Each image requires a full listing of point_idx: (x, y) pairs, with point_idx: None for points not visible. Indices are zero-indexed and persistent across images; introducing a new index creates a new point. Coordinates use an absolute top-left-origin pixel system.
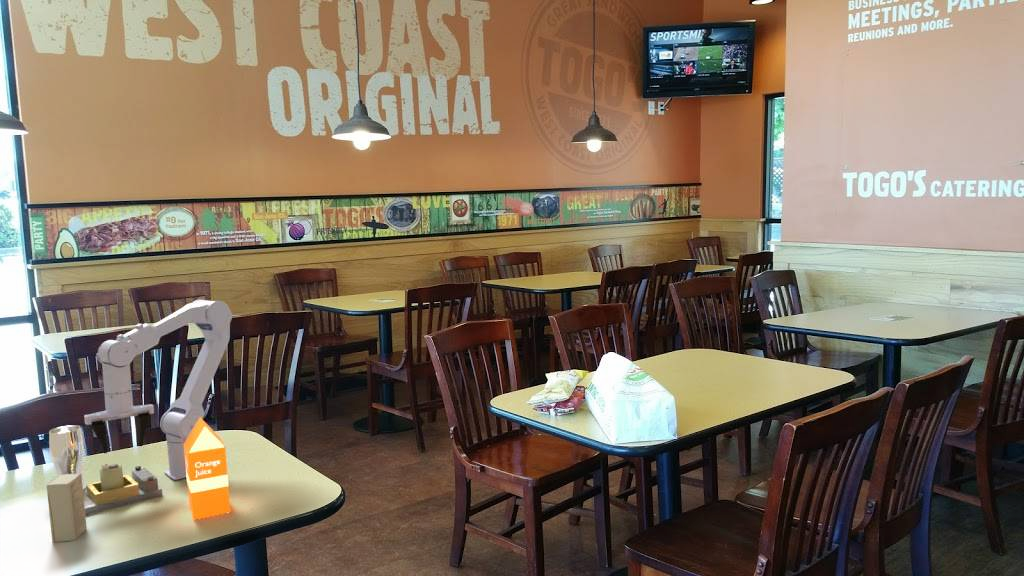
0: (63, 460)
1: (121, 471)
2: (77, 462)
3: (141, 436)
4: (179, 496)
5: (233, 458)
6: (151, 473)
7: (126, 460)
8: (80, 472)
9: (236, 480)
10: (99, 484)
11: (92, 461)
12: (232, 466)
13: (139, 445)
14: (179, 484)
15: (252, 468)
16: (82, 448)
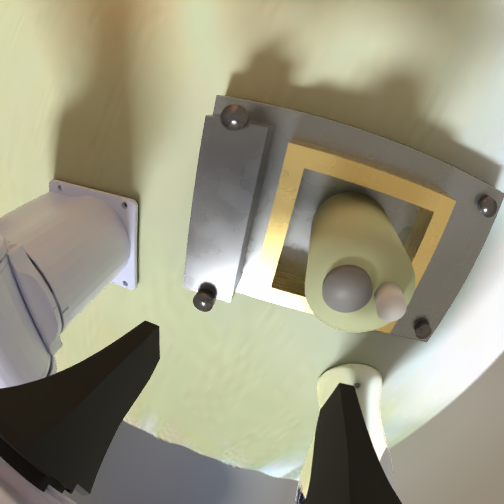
0: (384, 452)
1: (328, 237)
2: None
3: (114, 357)
4: (194, 37)
5: None
6: (192, 202)
7: (177, 412)
8: None
9: (48, 56)
10: None
11: (223, 447)
12: (23, 174)
13: (156, 332)
14: (140, 155)
15: (7, 119)
16: None
